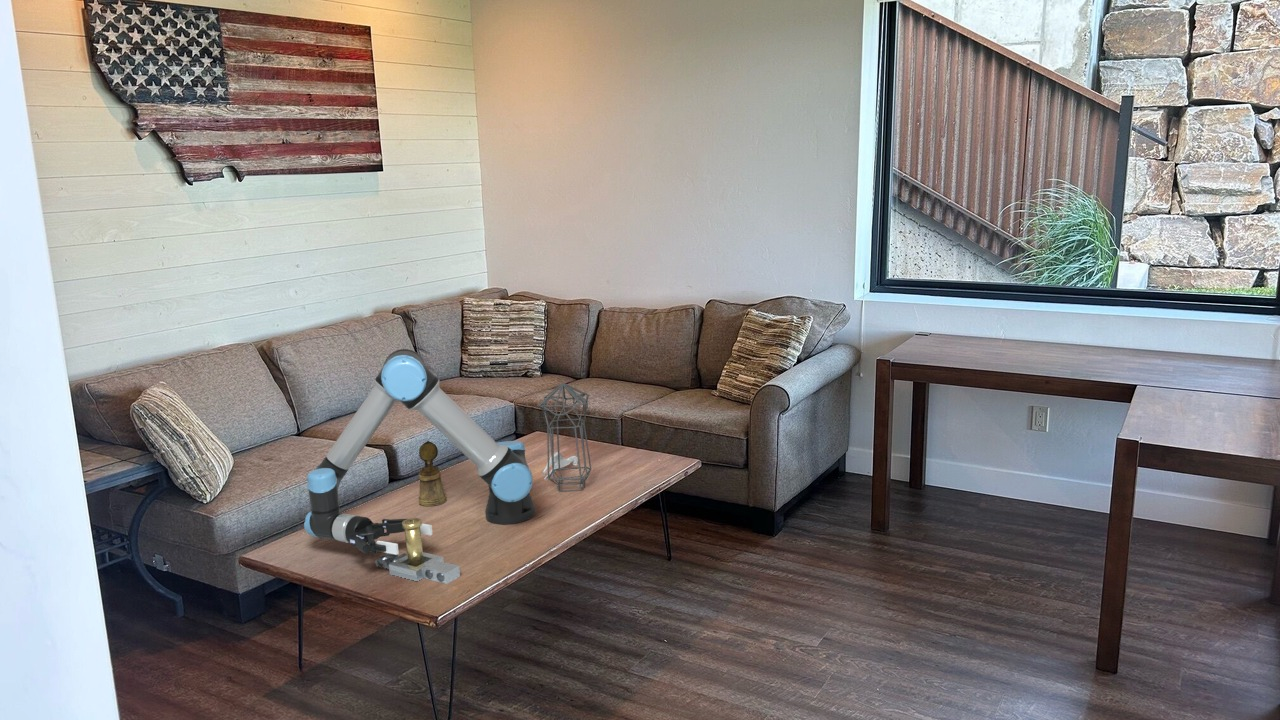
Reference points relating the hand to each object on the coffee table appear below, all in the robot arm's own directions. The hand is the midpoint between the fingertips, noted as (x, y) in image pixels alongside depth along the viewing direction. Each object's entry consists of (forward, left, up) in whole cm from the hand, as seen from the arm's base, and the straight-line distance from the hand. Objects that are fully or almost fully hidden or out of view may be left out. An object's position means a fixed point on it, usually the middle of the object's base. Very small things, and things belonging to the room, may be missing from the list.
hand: (414, 539), depth 245 cm
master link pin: (0, -1, -9) cm, 9 cm away
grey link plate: (0, 0, -9) cm, 9 cm away
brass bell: (0, -57, -9) cm, 58 cm away
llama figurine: (-42, -73, -10) cm, 85 cm away
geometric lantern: (-45, -57, -9) cm, 73 cm away
